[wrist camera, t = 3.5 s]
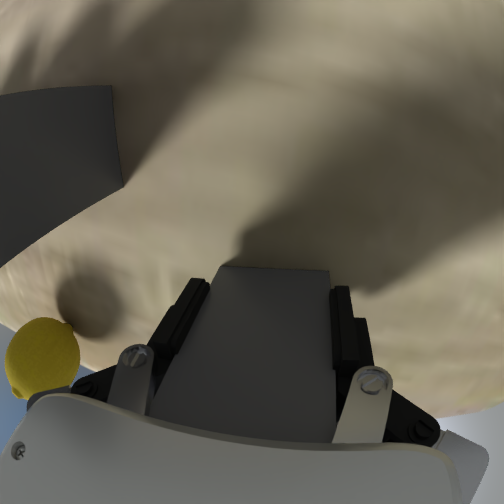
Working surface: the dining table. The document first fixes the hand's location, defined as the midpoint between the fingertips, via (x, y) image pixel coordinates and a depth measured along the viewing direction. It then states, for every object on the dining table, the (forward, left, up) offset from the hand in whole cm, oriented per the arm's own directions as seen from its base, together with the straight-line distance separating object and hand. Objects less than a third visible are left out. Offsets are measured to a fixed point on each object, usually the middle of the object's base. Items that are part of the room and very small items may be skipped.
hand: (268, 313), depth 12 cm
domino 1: (+8, -8, -2) cm, 11 cm away
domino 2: (0, 0, -2) cm, 2 cm away
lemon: (+16, +5, -2) cm, 17 cm away
